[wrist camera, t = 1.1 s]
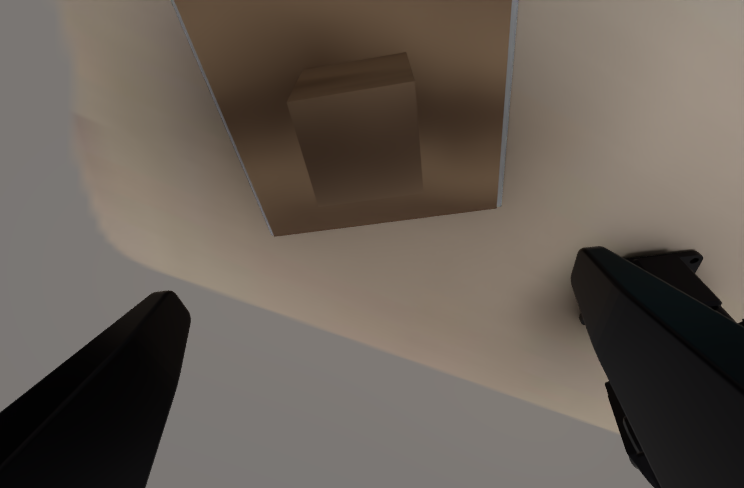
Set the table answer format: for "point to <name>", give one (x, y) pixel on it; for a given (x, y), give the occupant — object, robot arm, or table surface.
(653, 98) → the table surface
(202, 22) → the lid
